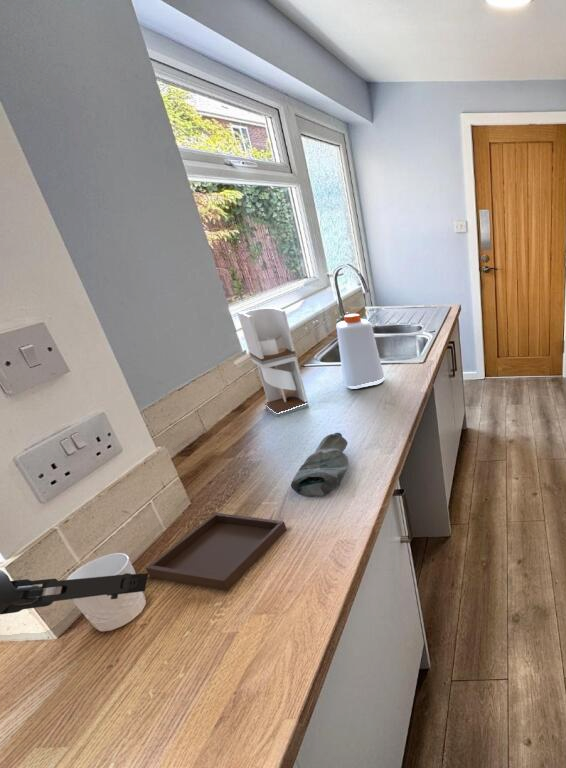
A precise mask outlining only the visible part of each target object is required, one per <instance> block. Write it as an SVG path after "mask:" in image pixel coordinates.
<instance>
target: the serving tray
mask: <svg viewBox="0 0 566 768" xmlns="http://www.w3.org/2000/svg"><path fill="white" fill-rule="evenodd" d="M286 531H287V527H286V523H285V521H284V520H276V519H268V518H261V517H252V516H245V515H239V514H231V513H223V512H214V513H213V514H212V515H210V516H209V517H208V518H207V519H206V520H204V521H203V522H202V523H200V524H199V525H198V526H196V527H195V528H194V529H193V530H191V531H190V532H189V533H188V534H186V535H185V536H184V537H183V538H181V539H180V540H179V541H177V542H176V543H175V544H174V545H172V546H171V547H170V548H169V549H167V550H166V551H165V552H163V554H161V555H160V556H158V557H157V558H156V559H155V560H154V561H152V562H151V563H150V564H149V565H147V566H146V567H145V570H146V572H147V573H148V576H149V578H152V579H157V580H161V581H169V582H174V583H180V584H185V585H191V586H192V585H193V586H198V587H204V588H209V589H216V590H221V591H229V590H230V589H231V588H232V587H233V586H234V585H235V584H236V583H237V582H239V580H240V579H241V578H242V577H243V576H244V575H245V574H246V573H247V572H248V571H249V570H250V569H251V568H252V567H253V566H254V564H256V563H257V562H258V561H259V559H260V558H261V557H262V556H264V554H265V553H267V551H268V550H270V549H271V547H272V546H273V545H274V544H275V543H276V542H277V541H278V540H279V539H280V538H281V537H282V536H283V535H284V534H285V533H286Z"/></svg>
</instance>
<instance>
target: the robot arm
mask: <svg viewBox="0 0 566 768" xmlns="http://www.w3.org/2000/svg"><path fill="white" fill-rule="evenodd" d="M148 576H149V574H148V572H147V573H146V572H145V573H136V574H129V573H126V574H123V575H114V576H104V577H93V578H82V579H72V580H66V579H62V580H60V579H59V580H58V579H57V578H46V579H37V580H31V579H29V578H28V579H16V580H11V578H10V577H9V575H8V574H7V573H6V572H4V571H3V570H1V569H0V615H1V616H2V615H8V614H15V613H19V612H21V611H24V610H30V609H37V608H44V607H49V606H51V605H52V604H53V603H54V602H59V601H67V600H72V599H76V598H84V597H92V596H100V595H107V596H109V595H111V599H117V597H118V594H126V593H134V592H146V587H147V583H148V582H147V581H148ZM39 585H41V586H39ZM111 599H110V600H111Z"/></svg>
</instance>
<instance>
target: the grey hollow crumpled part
mask: <svg viewBox="0 0 566 768" xmlns="http://www.w3.org/2000/svg"><path fill="white" fill-rule="evenodd" d="M347 446H348V441H347V440H346V438H345V437H343V435H342V433H340V432H335V433H330V434H328V435H326V436H324V437H323V438H322V439H321V441H320V442H319V444H318V446H317V448H316V449H315V451H314V452H313V453H312V454H310V455H309V456H308V457H307V458H306V460H304V462H303V464H302V465H301V466H300V467H299V469H298V470H297V472H296V473H295V475H294V477H293V479H292V481H291V483H290V487H291V490H293V491H294V492H295V493H296V494H298V495H301V496H302V497H307V498H308V497H309V498H313V497H314V498H315V497H324V496H327V495H330V494H331V493H333V492H334V491H336V490H337V489H338V488H339V486H340V485H341V483H342V481H343V479H344V476H345V474H346V472H347V470H348V468H349V457H348V456H347V454H346V453H344V451H345V450H346V448H347Z"/></svg>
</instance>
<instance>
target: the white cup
mask: <svg viewBox="0 0 566 768" xmlns="http://www.w3.org/2000/svg"><path fill="white" fill-rule="evenodd" d="M126 573H129V574H137V573H136V571H135V568H134V566H133V564H132V562H131V559H130V557H129V556H128V555H127V553H123V552H114V553H110V554H105V555H101V556H100V557H97V558H95V559H91V560H90V561H88V562H86V563H85V564H83V565H82V566H80V567H78V568H77V569H75V570H74V571H73V572H72V573H71V574H70V575H69V576H68V577H67V578H66V579H65V580H72V579H82V578H93V577H104V576H114V575H123V574H126ZM110 599H111V595H109V596H107V595H100V596H92V597H84V598H76V599H71V601H72V602H73V604H74V605H75V606H76V607H77V609H78V610H79V611H80V612H81V613H82V615H83V616H84V617H85V618H86V620H87V621H89V622H90V624H91V625H92V626H93V628H94V629H96V630H97V631H99V632H111V631H113V630H116V629H118V628H121V627H123V626H125V625H127V624H128V623H130V622H131V621H133V620H135V619H136V618H137V617H138V616H139V615H141V613H142V612H143V611H144V609H145V607H146V605H147V601H146V600H147V599H146V596H145V593H144V591H142V592H134V593H126V594H118V597H117V599H111V600H110Z"/></svg>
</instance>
